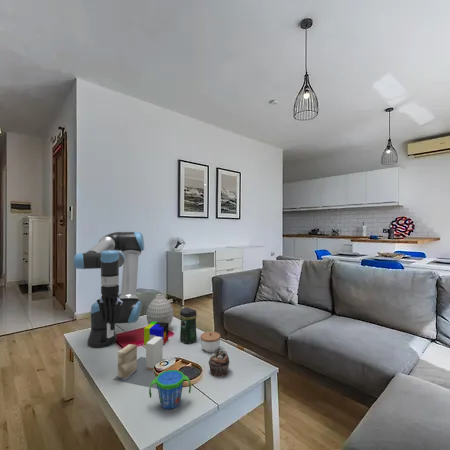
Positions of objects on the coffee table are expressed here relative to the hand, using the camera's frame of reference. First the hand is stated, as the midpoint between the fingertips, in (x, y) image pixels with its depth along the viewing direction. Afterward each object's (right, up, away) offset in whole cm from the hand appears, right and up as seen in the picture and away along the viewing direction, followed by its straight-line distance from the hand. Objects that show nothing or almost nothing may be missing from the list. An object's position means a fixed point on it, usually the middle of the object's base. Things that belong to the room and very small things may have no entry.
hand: (110, 336), depth 126 cm
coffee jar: (+31, -16, +34) cm, 49 cm away
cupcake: (+49, -17, +1) cm, 52 cm away
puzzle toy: (+13, -16, +31) cm, 38 cm away
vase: (+11, -16, +48) cm, 52 cm away
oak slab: (+9, -16, -2) cm, 19 cm away
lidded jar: (+44, -17, +23) cm, 52 cm away
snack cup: (+31, -18, -20) cm, 41 cm away
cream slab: (+18, -16, +7) cm, 25 cm away
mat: (+19, -17, +1) cm, 25 cm away
